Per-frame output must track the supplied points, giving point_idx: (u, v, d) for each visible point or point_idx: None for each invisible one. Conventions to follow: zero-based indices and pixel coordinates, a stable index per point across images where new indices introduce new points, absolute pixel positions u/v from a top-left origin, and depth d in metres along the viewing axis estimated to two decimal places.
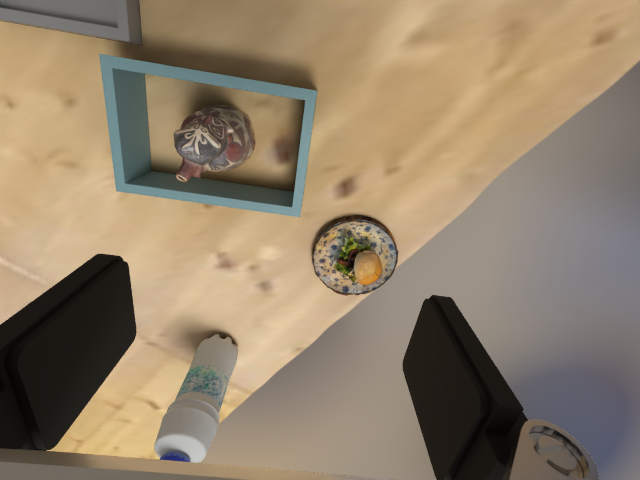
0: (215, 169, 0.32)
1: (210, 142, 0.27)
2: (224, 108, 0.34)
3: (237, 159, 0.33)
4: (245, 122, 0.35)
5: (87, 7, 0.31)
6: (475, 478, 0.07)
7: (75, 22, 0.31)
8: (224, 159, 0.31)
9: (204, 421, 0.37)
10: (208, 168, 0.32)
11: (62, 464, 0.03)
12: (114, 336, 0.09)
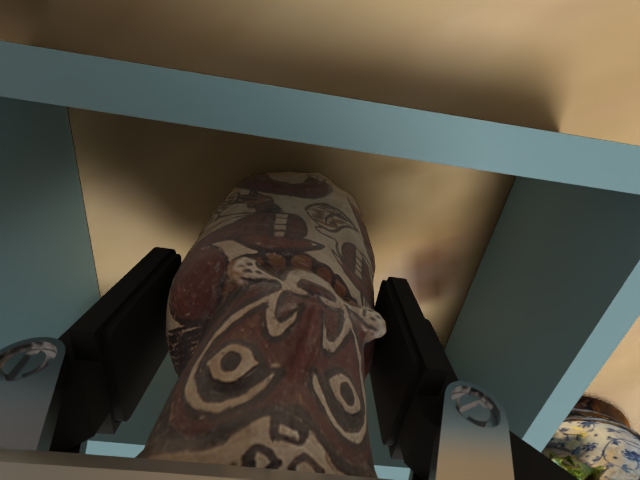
0: None
1: None
2: (306, 194, 0.11)
3: None
4: (361, 228, 0.12)
5: None
6: (409, 436, 0.07)
7: None
8: None
9: None
10: None
11: (61, 463, 0.03)
12: None
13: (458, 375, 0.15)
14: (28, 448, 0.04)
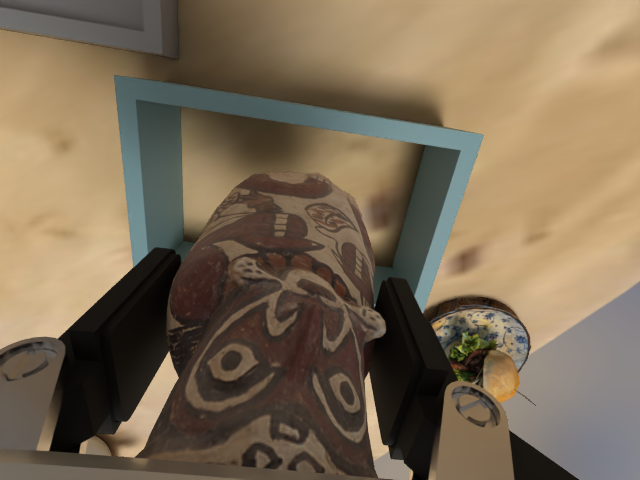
0: None
1: None
2: (306, 194, 0.11)
3: None
4: (361, 228, 0.12)
5: None
6: (409, 436, 0.07)
7: (72, 22, 0.18)
8: None
9: None
10: None
11: (61, 463, 0.03)
12: None
13: (398, 272, 0.26)
14: (28, 448, 0.04)
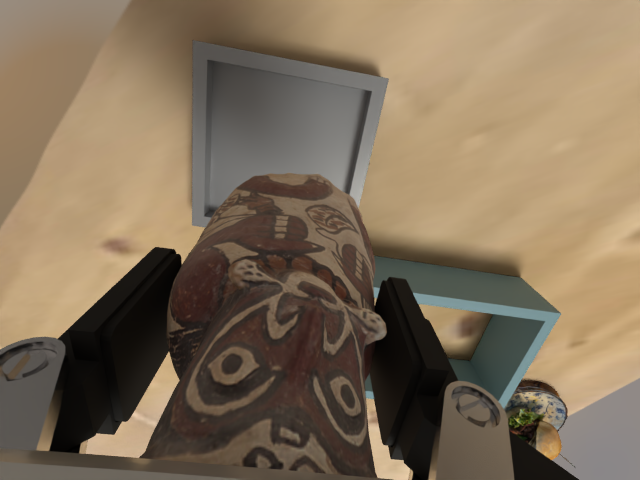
0: None
1: None
2: (306, 196, 0.11)
3: None
4: (362, 230, 0.12)
5: None
6: (409, 436, 0.07)
7: None
8: None
9: None
10: None
11: (62, 464, 0.03)
12: None
13: (479, 369, 0.36)
14: (28, 448, 0.04)
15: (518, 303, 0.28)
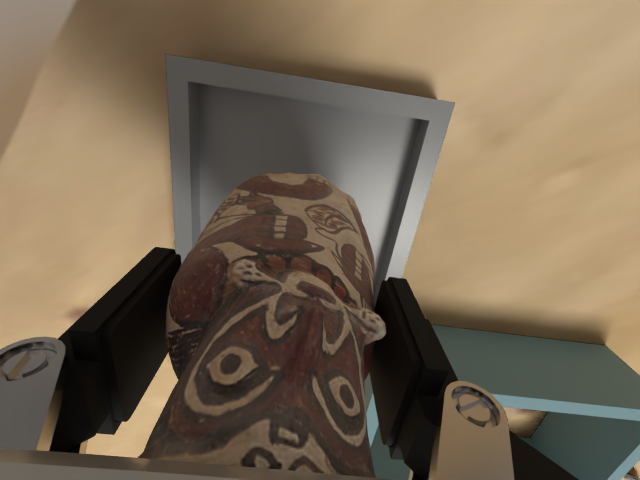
0: None
1: None
2: (306, 195, 0.11)
3: None
4: (361, 230, 0.12)
5: None
6: (409, 436, 0.07)
7: None
8: None
9: None
10: None
11: (61, 464, 0.03)
12: None
13: (545, 453, 0.29)
14: (28, 448, 0.04)
15: (621, 399, 0.21)
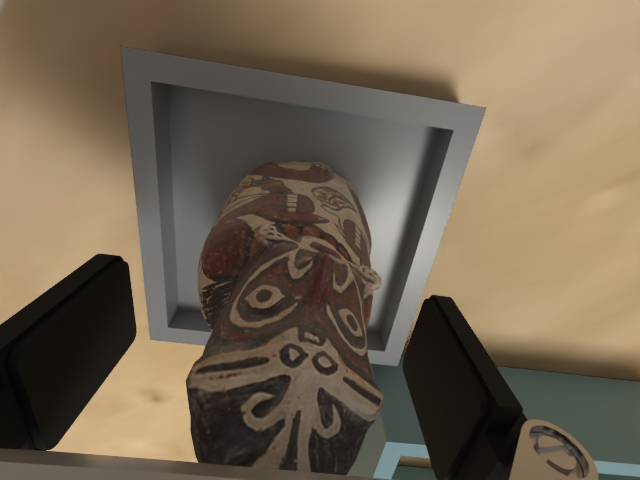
0: None
1: (352, 414, 0.06)
2: (311, 179, 0.13)
3: None
4: (360, 210, 0.14)
5: None
6: (475, 478, 0.07)
7: None
8: None
9: None
10: None
11: (61, 464, 0.03)
12: (114, 336, 0.09)
13: None
14: None
15: None
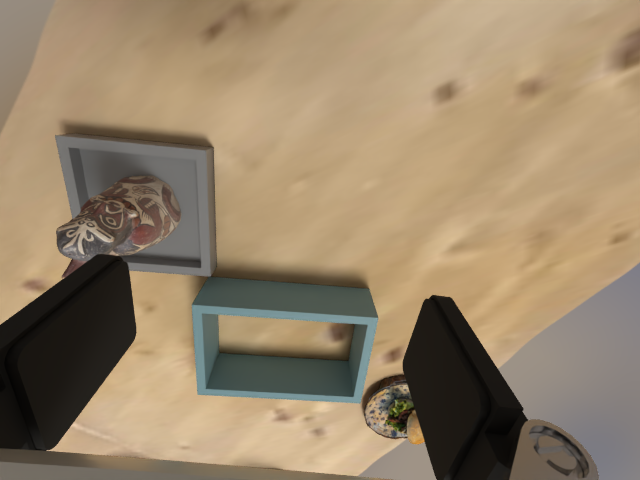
0: (124, 254, 0.29)
1: (98, 237, 0.24)
2: (137, 182, 0.31)
3: (150, 241, 0.29)
4: (163, 195, 0.32)
5: (172, 248, 0.36)
6: (475, 478, 0.07)
7: (165, 266, 0.35)
8: (130, 245, 0.28)
9: None
10: (115, 254, 0.28)
11: (62, 464, 0.03)
12: (114, 336, 0.09)
13: (350, 367, 0.43)
14: None
15: (345, 311, 0.35)
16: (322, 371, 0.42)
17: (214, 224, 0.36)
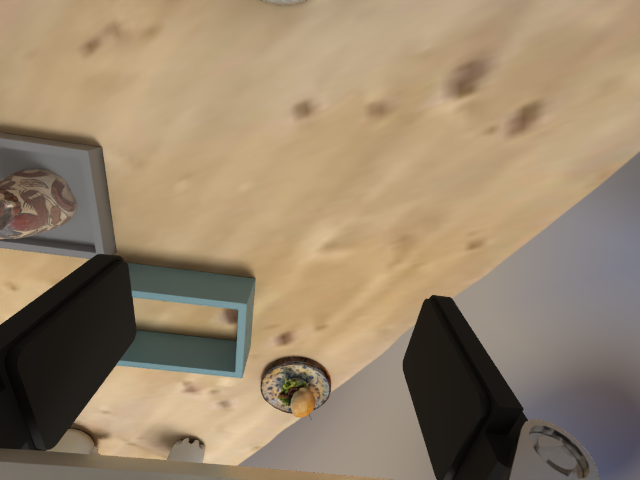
0: (9, 238, 0.34)
1: None
2: (27, 176, 0.35)
3: (33, 227, 0.34)
4: (53, 188, 0.36)
5: (72, 234, 0.41)
6: (475, 478, 0.07)
7: (63, 250, 0.40)
8: (11, 230, 0.32)
9: None
10: (0, 238, 0.33)
11: (61, 463, 0.03)
12: (114, 336, 0.09)
13: None
14: None
15: (219, 297, 0.40)
16: (216, 349, 0.48)
17: (109, 215, 0.40)
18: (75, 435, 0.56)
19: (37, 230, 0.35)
